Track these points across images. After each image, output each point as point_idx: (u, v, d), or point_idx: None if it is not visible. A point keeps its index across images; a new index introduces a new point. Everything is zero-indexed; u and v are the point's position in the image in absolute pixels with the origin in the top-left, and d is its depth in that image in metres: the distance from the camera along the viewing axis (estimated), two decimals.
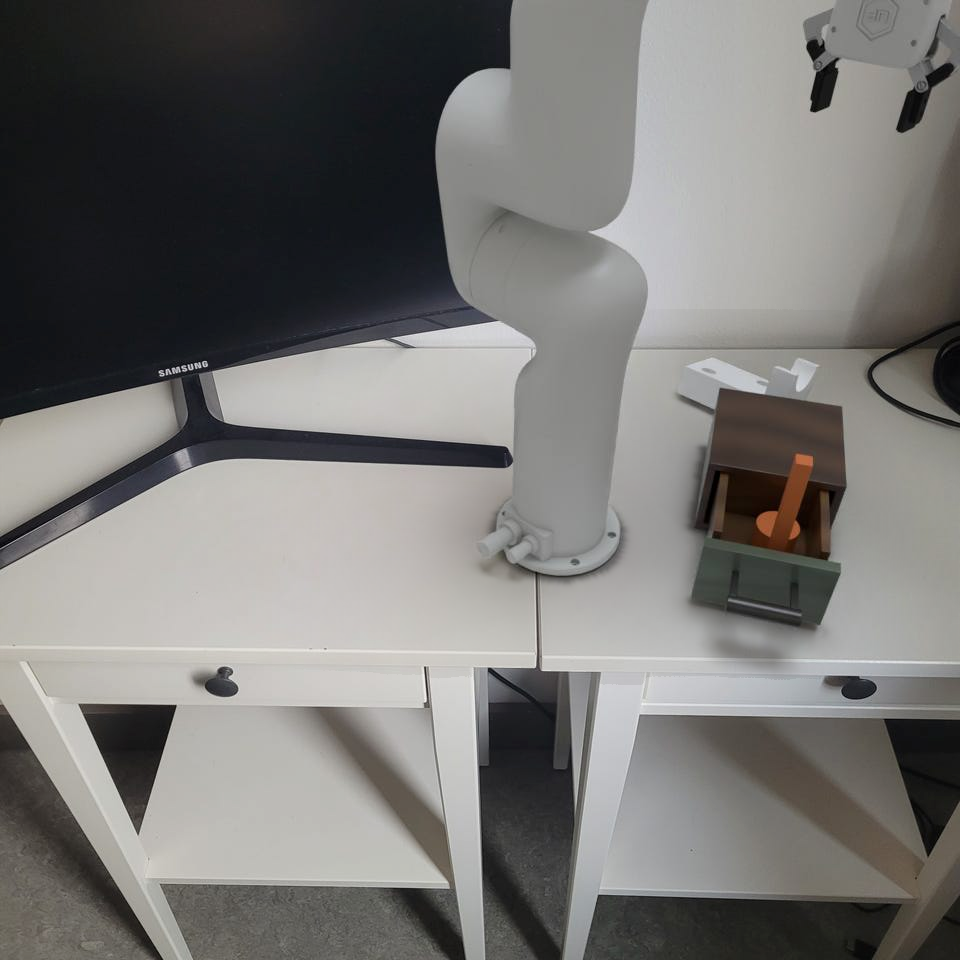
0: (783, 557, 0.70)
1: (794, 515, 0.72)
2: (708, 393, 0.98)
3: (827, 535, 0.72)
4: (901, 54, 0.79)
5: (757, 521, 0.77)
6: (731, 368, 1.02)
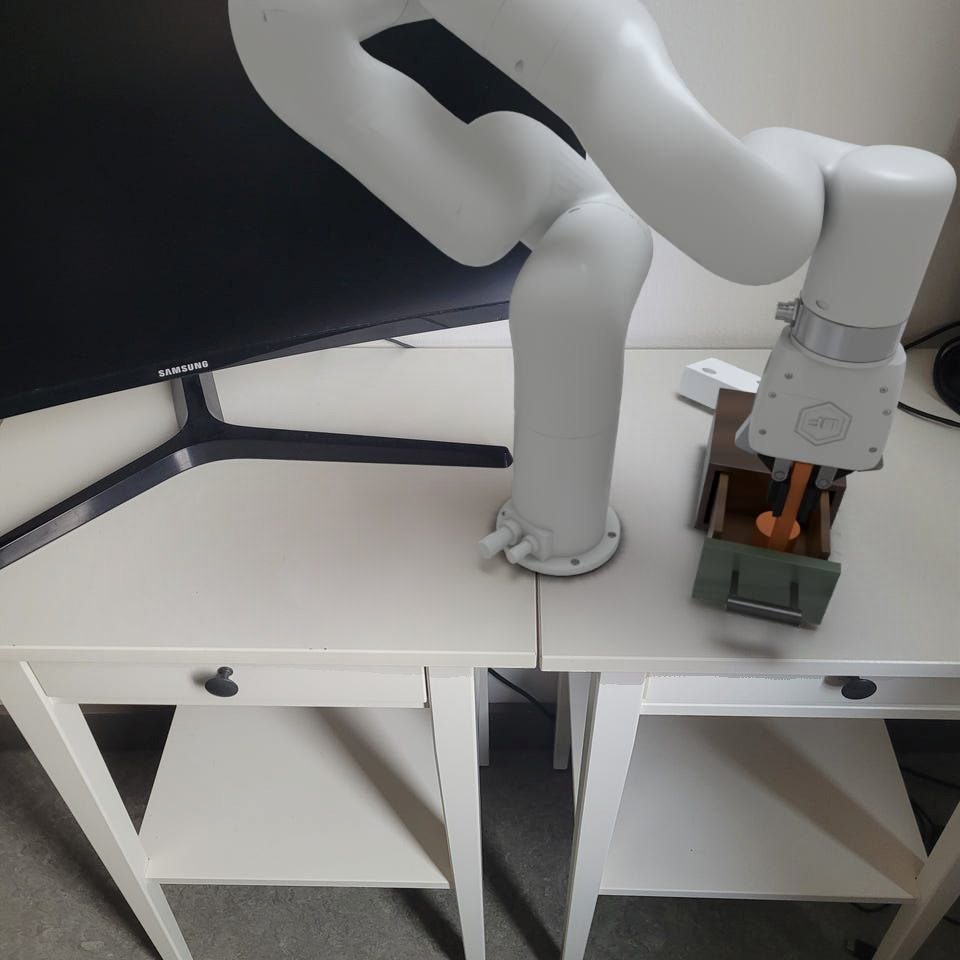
0: (783, 557, 0.70)
1: (794, 515, 0.72)
2: (708, 393, 0.98)
3: (827, 535, 0.72)
4: (857, 459, 0.64)
5: (757, 521, 0.77)
6: (731, 368, 1.02)
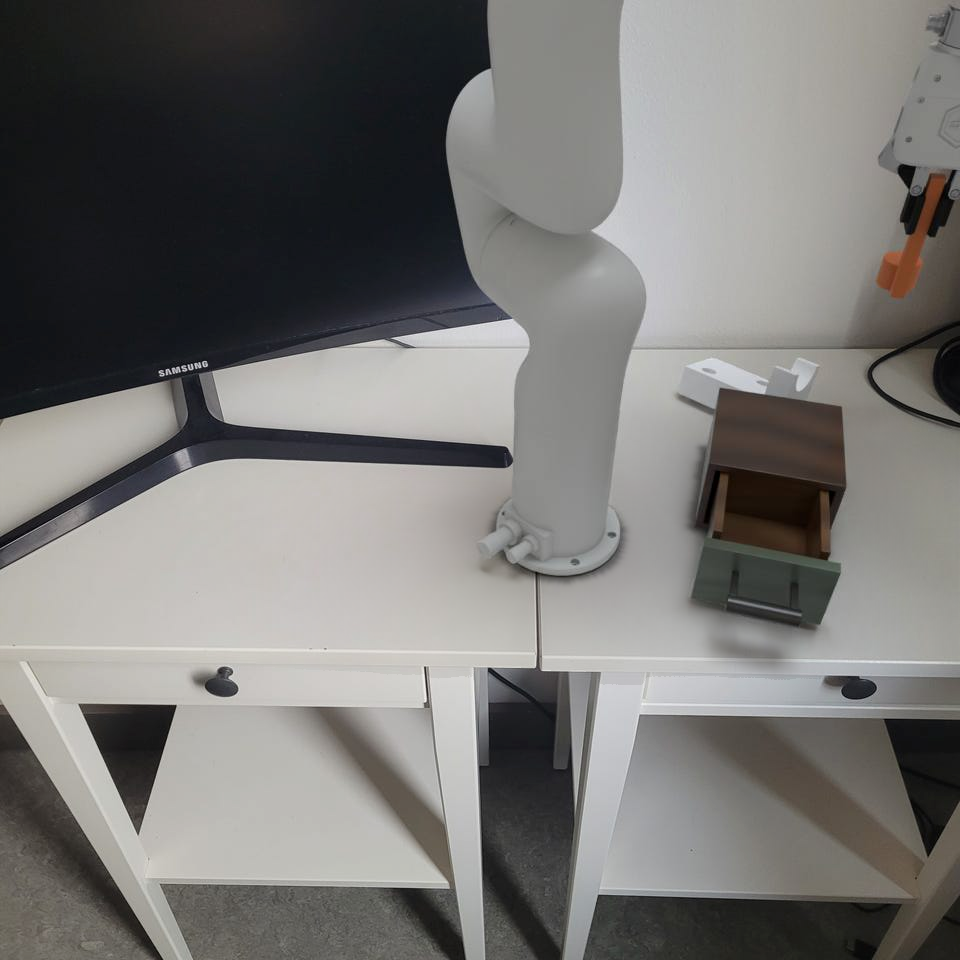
0: (783, 557, 0.70)
1: (925, 233, 0.83)
2: (708, 393, 0.98)
3: (827, 535, 0.72)
4: None
5: (884, 257, 0.89)
6: (731, 368, 1.02)
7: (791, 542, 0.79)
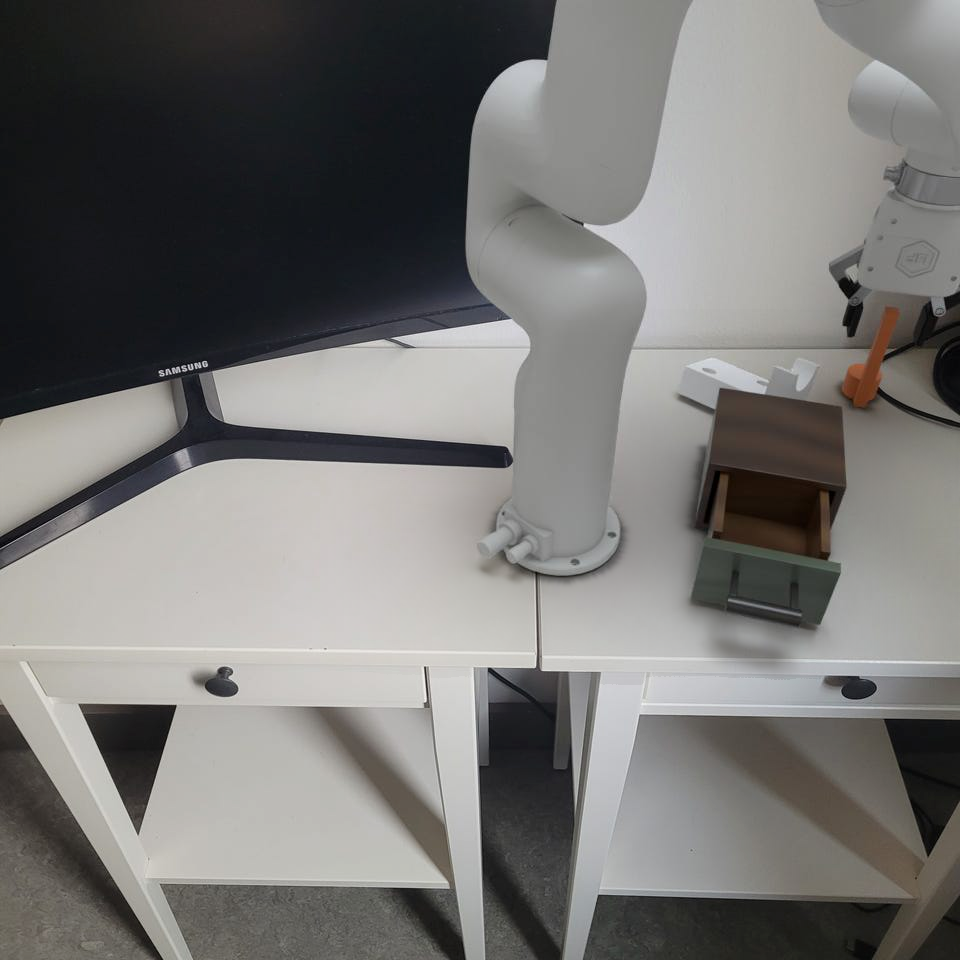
0: (783, 557, 0.70)
1: (882, 356, 0.95)
2: (708, 393, 0.98)
3: (827, 535, 0.72)
4: (941, 287, 0.87)
5: (849, 369, 1.01)
6: (731, 368, 1.02)
7: (791, 542, 0.79)
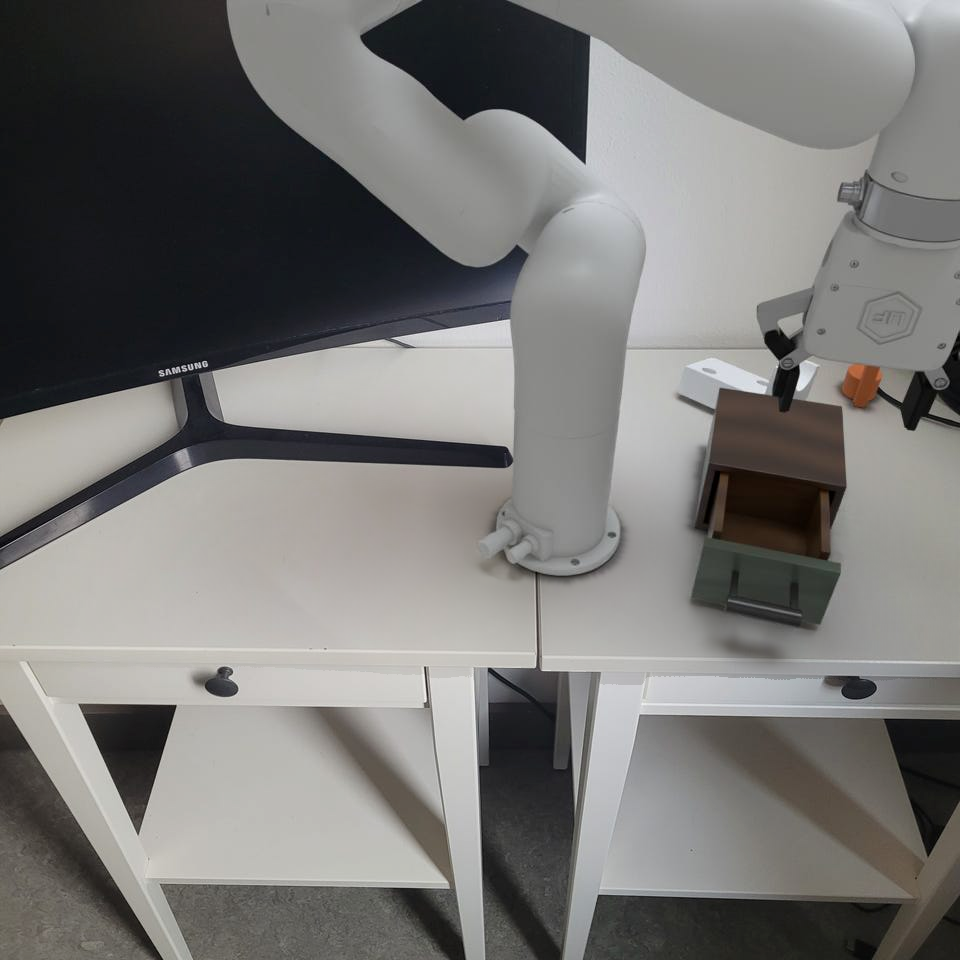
0: (783, 557, 0.70)
1: None
2: (708, 393, 0.98)
3: (827, 535, 0.72)
4: (924, 358, 0.59)
5: (849, 369, 1.01)
6: (731, 367, 1.02)
7: (791, 542, 0.79)
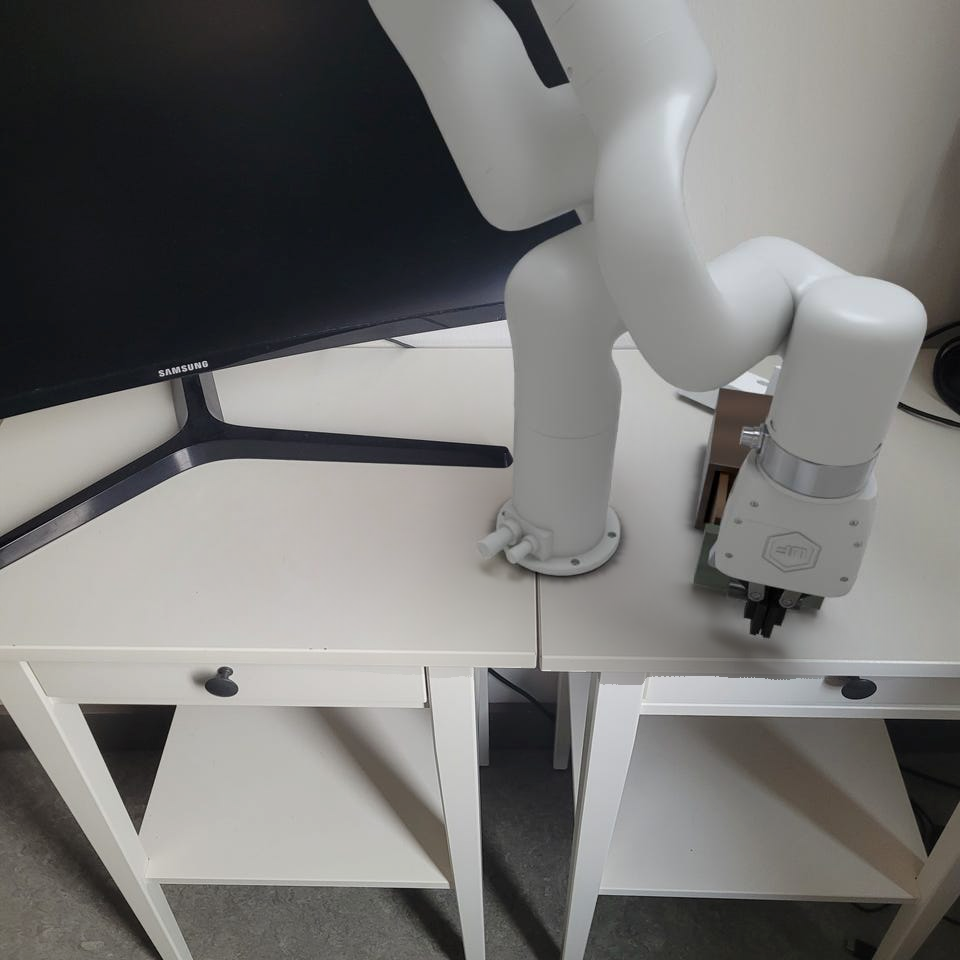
0: None
1: None
2: (708, 393, 0.98)
3: None
4: (828, 587, 0.61)
5: None
6: None
7: None
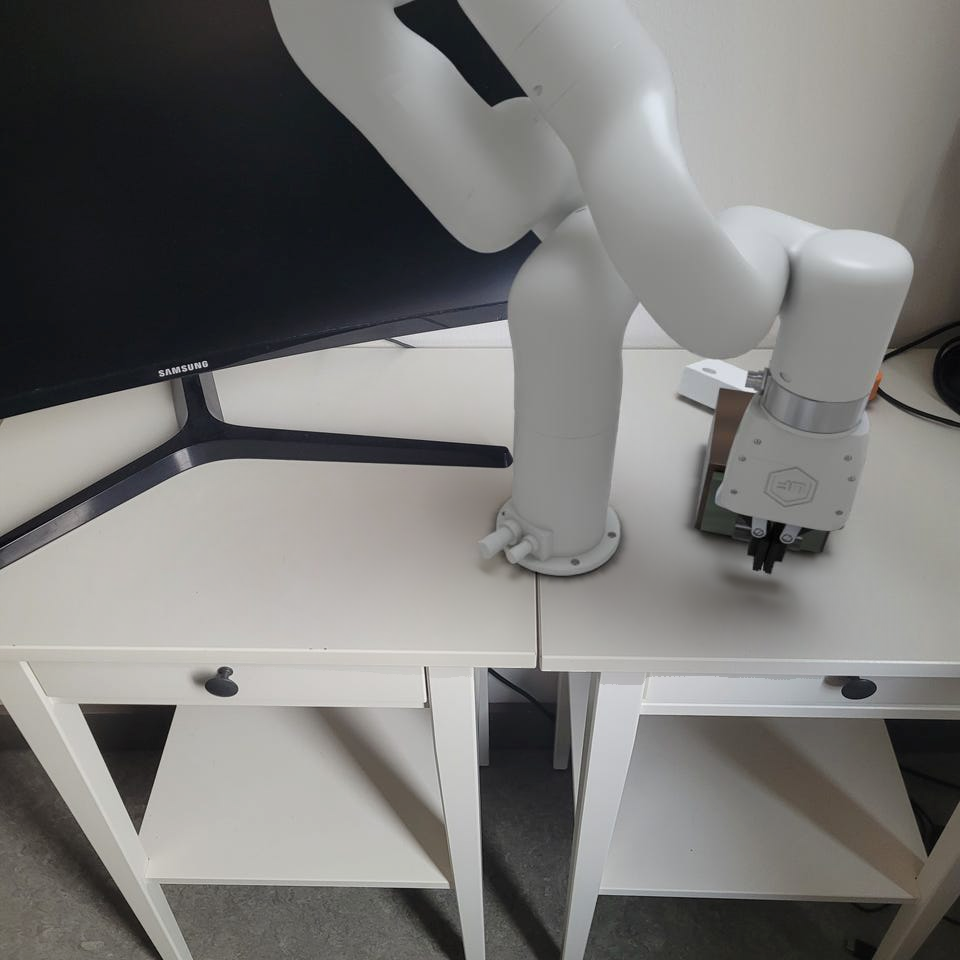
0: None
1: None
2: (708, 393, 0.98)
3: None
4: (824, 521, 0.66)
5: None
6: (731, 367, 1.02)
7: None
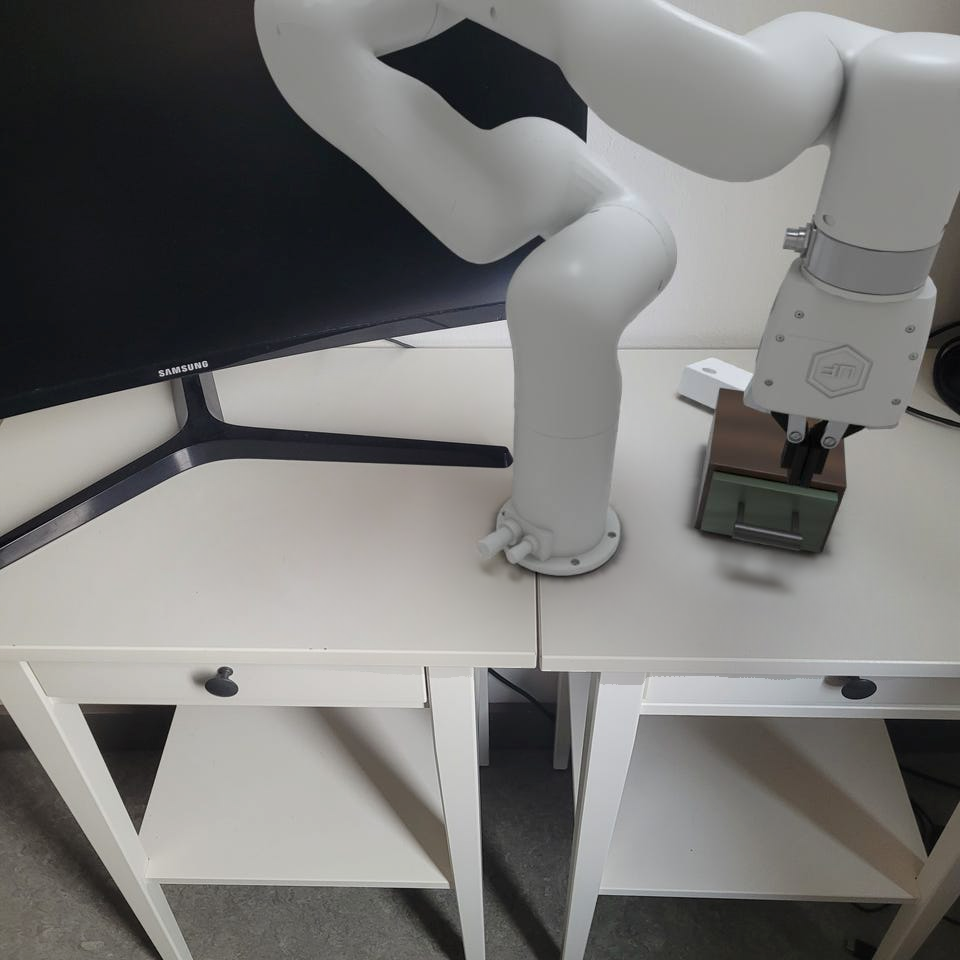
0: (785, 488, 0.77)
1: None
2: (708, 393, 0.98)
3: None
4: (878, 414, 0.56)
5: None
6: (731, 367, 1.02)
7: None
